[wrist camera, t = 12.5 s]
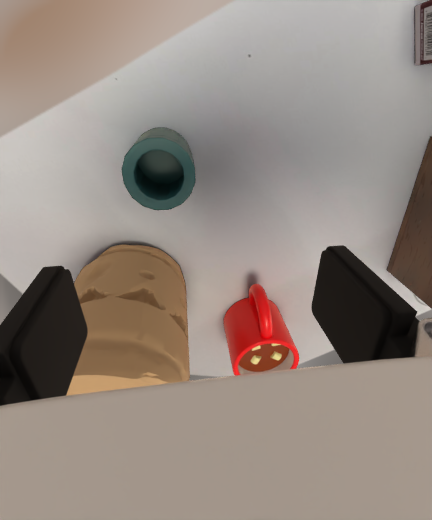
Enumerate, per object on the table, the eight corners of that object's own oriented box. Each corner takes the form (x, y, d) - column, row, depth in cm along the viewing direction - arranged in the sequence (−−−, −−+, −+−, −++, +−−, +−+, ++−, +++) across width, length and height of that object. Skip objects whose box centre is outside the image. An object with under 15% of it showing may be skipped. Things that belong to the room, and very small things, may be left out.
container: (161, 225, 32) (145, 349, 17) (200, 307, 39) (215, 452, 23) (57, 263, 33) (-47, 413, 18) (112, 337, 40) (70, 496, 24)
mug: (279, 266, 37) (303, 305, 30) (279, 335, 43) (298, 381, 36) (218, 275, 37) (227, 317, 30) (226, 344, 43) (235, 392, 36)
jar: (189, 126, 28) (193, 136, 22) (192, 185, 31) (196, 208, 25) (129, 128, 27) (116, 138, 21) (138, 187, 30) (128, 212, 24)
